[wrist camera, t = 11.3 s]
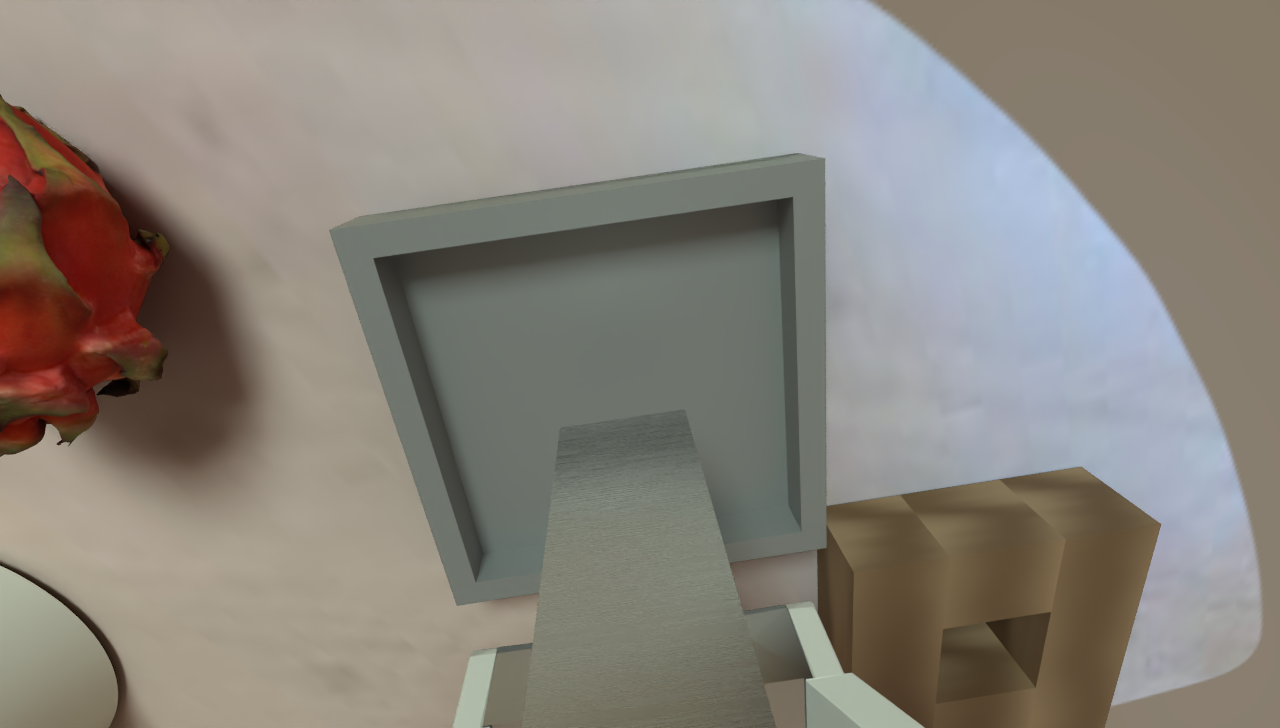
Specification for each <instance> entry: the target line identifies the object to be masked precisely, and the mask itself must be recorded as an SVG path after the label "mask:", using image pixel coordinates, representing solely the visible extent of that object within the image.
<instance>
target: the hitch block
mask: <svg viewBox="0 0 1280 728" xmlns="http://www.w3.org/2000/svg"><path fill="white" fill-rule="evenodd" d="M1160 527H1161V524H1160V523H1159V522H1157V521H1156V520H1155V519H1153V518H1152V517H1150V516H1149V515H1148V514H1146V513H1145V512H1144V511H1142V510H1141V509H1139V508H1138V507H1137V506H1135V505H1134V504H1132V503H1131V502H1130V501H1128V500H1127V499H1126V498H1124V497H1123V496H1121V495H1120V494H1119V493H1117V492H1116V491H1114V490H1113V489H1112V488H1110V487H1109V486H1108V485H1106V484H1105V483H1103V482H1102V481H1101V480H1099V479H1098V478H1096V477H1095V476H1094V475H1092V474H1091V473H1089V472H1088V471H1087V470H1085V469H1084V468H1083V467H1077V468H1070V469H1064V470H1057V471H1051V472H1044V473H1038V474H1032V475H1025V476H1019V477H1012V478H1006V479H999V480H993V481H987V482H980V483H974V484H967V485H961V486H954V487H948V488H941V489H935V490H929V491H922V492H916V493H909V494H903V495H896V496H890V497H883V498H877V499H871V500H864V501H858V502H851V503H845V504H838V505H832V506H826V540H827V548H823V549H817V554H818V615H819V617H820V620H821V622H822V624H823V626H824V629H825V631H826V633H827V635H828V638H829V640H830V642H831V645H832V647H833V649H834V651H835V654H836V656H837V658H838V660H839V663H840V665H841V667H842V670H843V672H844V673H853V674H855V675H856V676H857V677H859V678H860V679H861V680H863V681H864V682H865V683H867V684H868V685H869V686H870V687H872V688H873V689H874V690H876V691H877V692H878V693H880V694H881V695H882V696H884V697H885V698H886V699H888V700H889V701H890V702H892V703H893V704H894V705H896V706H897V707H898V708H899V709H901V710H902V711H903V712H905V713H906V714H907V715H909V716H910V717H911V718H913V719H914V720H915V721H917V722H918V723H919V724H921V725H922V726H923V727H925V728H1104V727H1105V724H1106V720H1107V716H1108V713H1109V709H1110V706H1111V702H1112V699H1113V695H1114V692H1115V688H1116V684H1117V681H1118V677H1119V674H1120V670H1121V666H1122V663H1123V659H1124V656H1125V652H1126V649H1127V645H1128V641H1129V638H1130V634H1131V631H1132V627H1133V624H1134V620H1135V616H1136V613H1137V609H1138V606H1139V602H1140V598H1141V595H1142V591H1143V588H1144V584H1145V581H1146V577H1147V573H1148V570H1149V566H1150V563H1151V559H1152V556H1153V552H1154V548H1155V545H1156V541H1157V538H1158V534H1159V530H1160Z"/></svg>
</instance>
